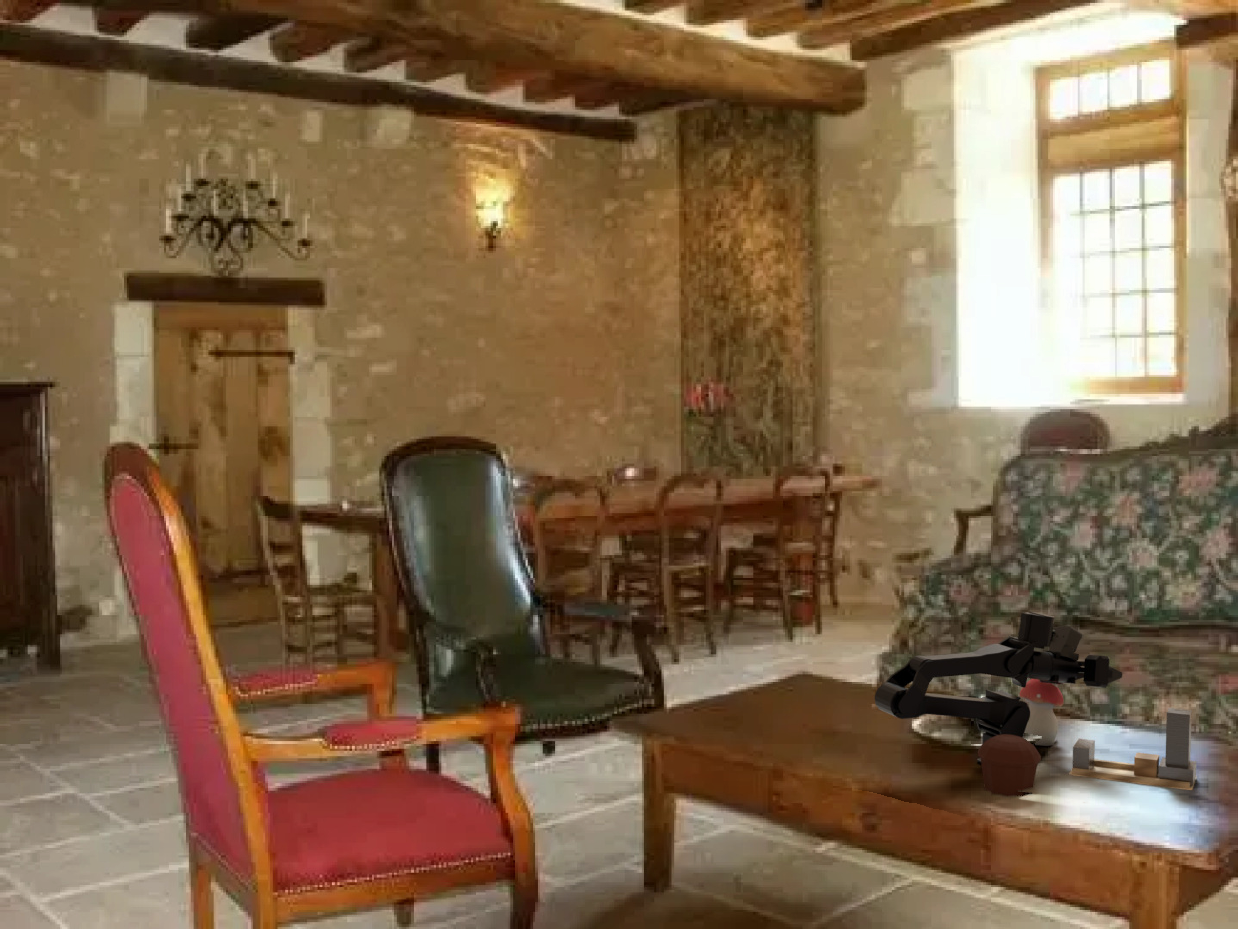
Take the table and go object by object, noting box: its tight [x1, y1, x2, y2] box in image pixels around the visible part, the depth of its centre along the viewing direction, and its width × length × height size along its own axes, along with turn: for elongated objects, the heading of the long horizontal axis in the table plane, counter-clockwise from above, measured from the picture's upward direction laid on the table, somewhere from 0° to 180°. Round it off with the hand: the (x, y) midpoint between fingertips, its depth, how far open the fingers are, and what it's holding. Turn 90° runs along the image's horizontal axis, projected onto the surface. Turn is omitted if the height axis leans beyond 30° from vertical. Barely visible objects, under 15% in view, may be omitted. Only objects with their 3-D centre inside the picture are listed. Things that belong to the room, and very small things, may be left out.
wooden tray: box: [1068, 758, 1198, 791], centre depth 267 cm, size 22×10×2 cm, turn 63°
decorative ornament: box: [1019, 679, 1064, 747], centre depth 294 cm, size 9×7×15 cm
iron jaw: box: [1072, 738, 1096, 770], centre depth 271 cm, size 3×7×5 cm, turn 153°
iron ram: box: [1159, 707, 1197, 787], centre depth 263 cm, size 6×7×13 cm
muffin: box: [977, 734, 1042, 797], centre depth 262 cm, size 12×11×10 cm
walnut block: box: [1133, 752, 1160, 778], centre depth 266 cm, size 4×4×4 cm
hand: (1106, 674), depth 286 cm, fingers open, 9 cm apart
